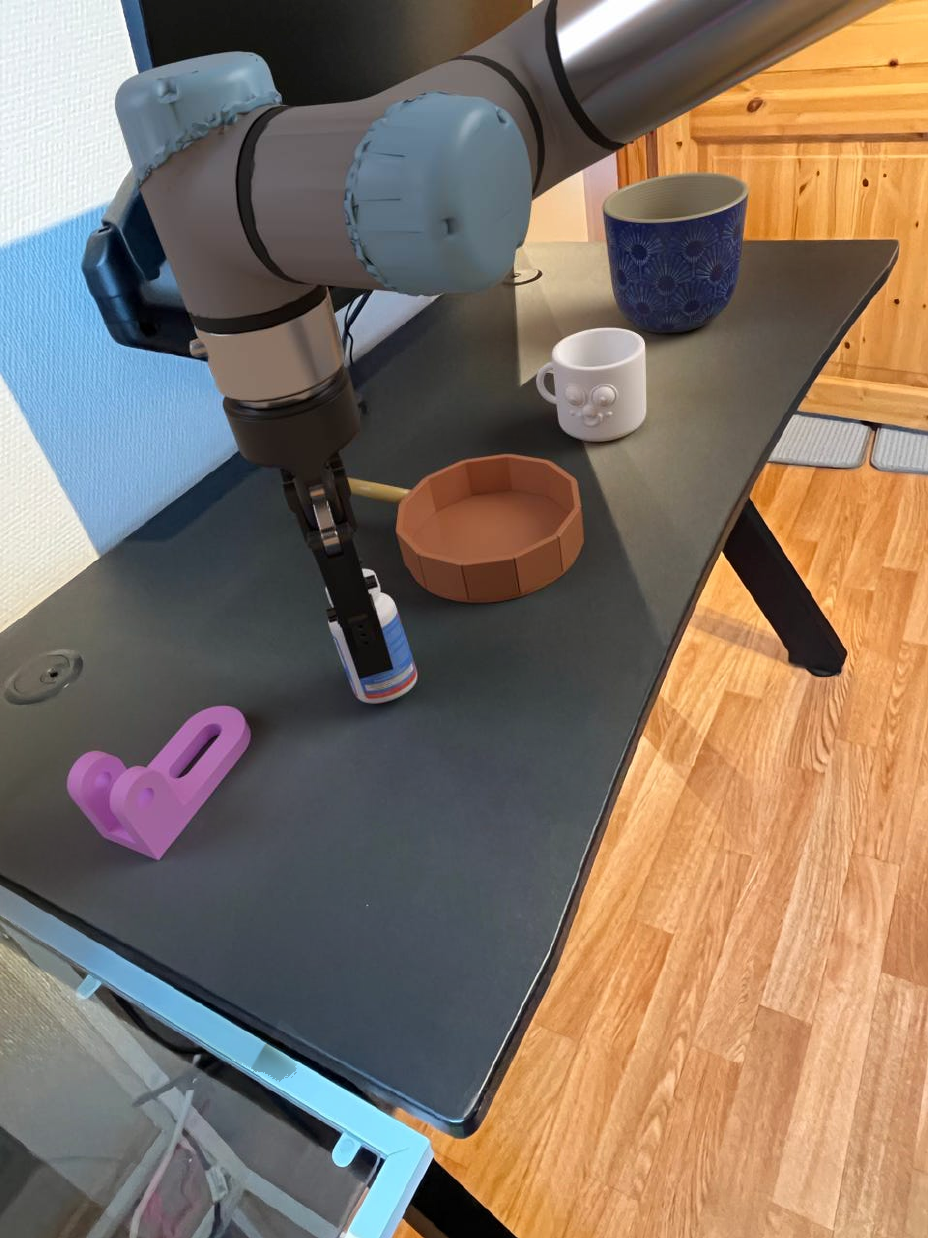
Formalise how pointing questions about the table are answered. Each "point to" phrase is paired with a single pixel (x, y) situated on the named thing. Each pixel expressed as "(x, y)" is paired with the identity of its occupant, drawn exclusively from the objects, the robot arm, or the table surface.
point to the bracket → (159, 782)
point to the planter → (675, 248)
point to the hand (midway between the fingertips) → (374, 668)
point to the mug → (598, 383)
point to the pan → (486, 526)
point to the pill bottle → (404, 668)
